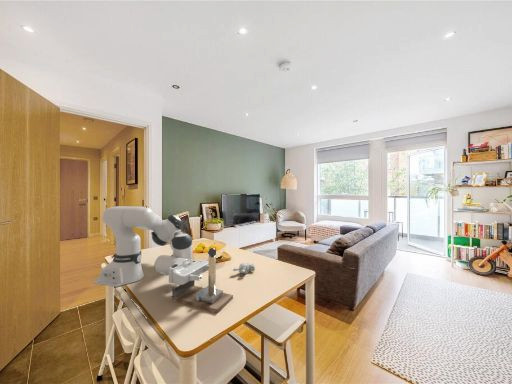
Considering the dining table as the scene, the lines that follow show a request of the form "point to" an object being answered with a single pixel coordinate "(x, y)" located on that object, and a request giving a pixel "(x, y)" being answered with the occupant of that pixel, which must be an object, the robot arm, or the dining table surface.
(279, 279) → the dining table surface
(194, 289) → the press base
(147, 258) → the dining table surface
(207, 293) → the grey upright rod
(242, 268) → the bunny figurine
